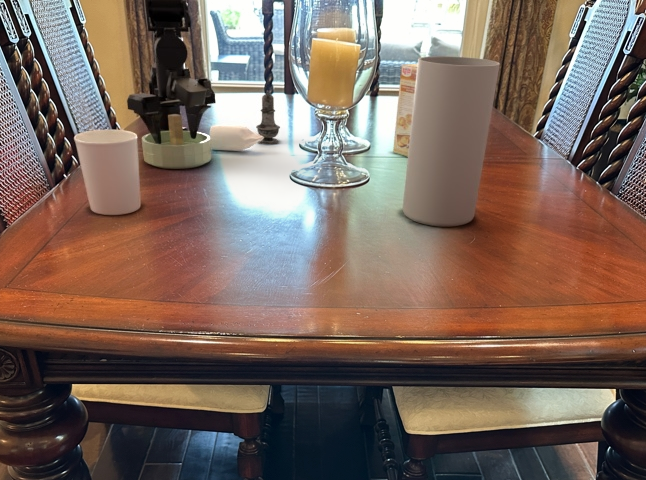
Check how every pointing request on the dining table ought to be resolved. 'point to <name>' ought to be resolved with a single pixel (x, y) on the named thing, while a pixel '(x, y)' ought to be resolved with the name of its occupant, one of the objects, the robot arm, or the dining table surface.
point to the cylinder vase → (448, 138)
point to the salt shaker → (268, 121)
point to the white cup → (110, 170)
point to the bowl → (177, 151)
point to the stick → (175, 129)
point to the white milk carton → (232, 138)
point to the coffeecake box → (405, 109)
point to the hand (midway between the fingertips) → (176, 141)
